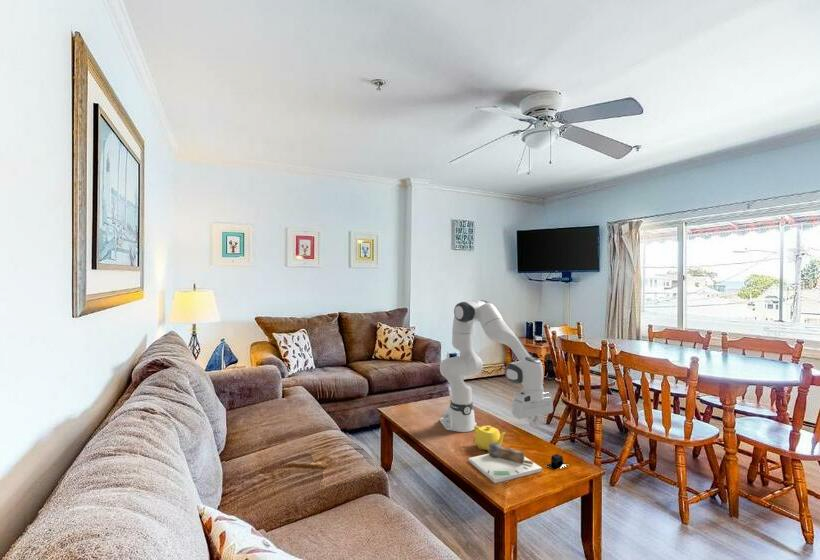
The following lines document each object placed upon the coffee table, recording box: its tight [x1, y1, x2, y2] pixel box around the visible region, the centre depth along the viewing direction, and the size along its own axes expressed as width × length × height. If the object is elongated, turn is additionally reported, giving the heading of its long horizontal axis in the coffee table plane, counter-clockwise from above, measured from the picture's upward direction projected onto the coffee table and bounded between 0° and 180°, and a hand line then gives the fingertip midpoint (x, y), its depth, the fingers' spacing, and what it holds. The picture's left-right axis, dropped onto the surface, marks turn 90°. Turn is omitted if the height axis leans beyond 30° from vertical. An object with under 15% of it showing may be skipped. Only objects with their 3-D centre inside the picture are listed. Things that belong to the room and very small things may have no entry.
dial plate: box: [468, 453, 543, 484], centre depth 169 cm, size 20×24×2 cm
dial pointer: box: [488, 443, 534, 465], centre depth 171 cm, size 20×5×4 cm, turn 58°
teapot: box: [473, 425, 507, 453], centre depth 186 cm, size 18×11×11 cm, turn 45°
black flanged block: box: [546, 453, 569, 470], centre depth 170 cm, size 12×7×5 cm, turn 120°
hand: (533, 425), depth 172 cm, fingers closed
